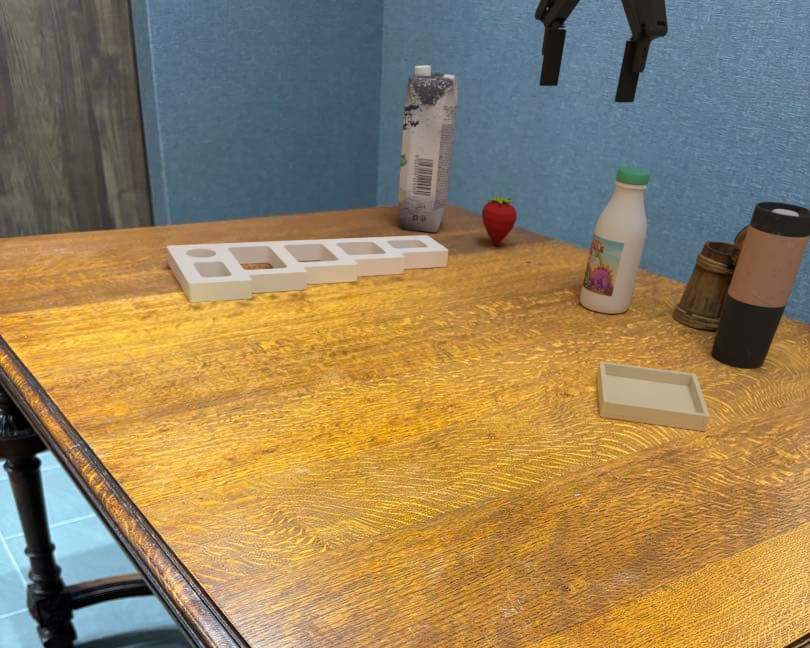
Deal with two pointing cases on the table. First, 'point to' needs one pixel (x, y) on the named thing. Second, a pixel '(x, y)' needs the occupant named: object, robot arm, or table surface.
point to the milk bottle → (617, 245)
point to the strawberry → (498, 218)
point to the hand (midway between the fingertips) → (584, 93)
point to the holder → (295, 264)
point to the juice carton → (426, 149)
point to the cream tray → (651, 396)
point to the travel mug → (761, 283)
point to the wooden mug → (709, 284)
